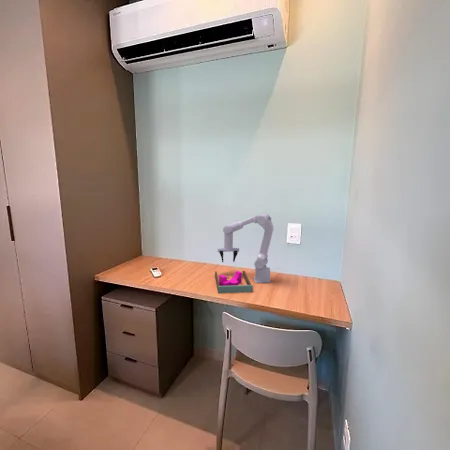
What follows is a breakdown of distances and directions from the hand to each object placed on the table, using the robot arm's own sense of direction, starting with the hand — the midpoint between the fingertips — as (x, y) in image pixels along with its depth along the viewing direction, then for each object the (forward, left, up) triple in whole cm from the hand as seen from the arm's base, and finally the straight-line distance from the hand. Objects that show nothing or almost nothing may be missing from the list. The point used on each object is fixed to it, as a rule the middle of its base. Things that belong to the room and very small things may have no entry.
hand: (228, 261), depth 185 cm
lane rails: (-1, +14, -9) cm, 17 cm away
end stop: (-1, +28, -9) cm, 30 cm away
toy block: (0, +19, -10) cm, 21 cm away
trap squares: (-1, +4, -9) cm, 10 cm away
